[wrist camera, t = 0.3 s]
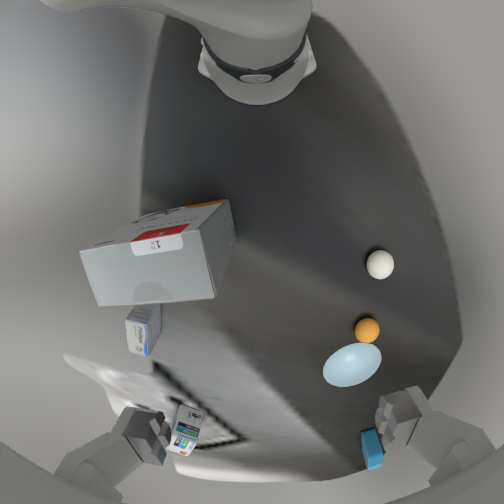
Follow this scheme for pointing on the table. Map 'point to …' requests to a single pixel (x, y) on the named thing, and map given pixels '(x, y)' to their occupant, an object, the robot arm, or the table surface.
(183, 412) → the light bulb box
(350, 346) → the blue mark
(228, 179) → the table surface
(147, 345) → the medicine box
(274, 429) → the table surface
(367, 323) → the orange ball
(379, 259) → the white ball
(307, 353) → the table surface
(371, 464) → the data package
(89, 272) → the hard drive box
